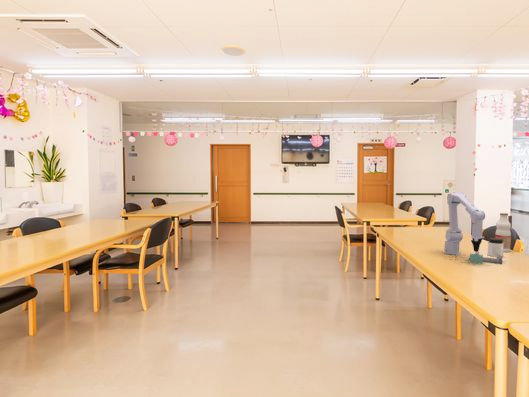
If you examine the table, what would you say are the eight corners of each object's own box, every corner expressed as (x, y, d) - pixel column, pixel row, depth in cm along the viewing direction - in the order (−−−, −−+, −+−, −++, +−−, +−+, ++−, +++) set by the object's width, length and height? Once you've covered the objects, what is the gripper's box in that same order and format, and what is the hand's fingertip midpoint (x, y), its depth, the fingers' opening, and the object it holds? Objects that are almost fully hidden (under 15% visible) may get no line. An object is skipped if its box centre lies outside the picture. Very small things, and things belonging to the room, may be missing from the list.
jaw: (474, 258, 228) (474, 253, 228) (475, 256, 235) (475, 251, 235) (478, 259, 227) (478, 253, 227) (478, 256, 234) (479, 251, 233)
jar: (498, 257, 235) (499, 240, 234) (486, 255, 242) (486, 238, 241) (504, 256, 240) (505, 239, 239) (491, 253, 247) (492, 237, 246)
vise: (469, 260, 229) (469, 253, 229) (470, 257, 237) (470, 250, 237) (502, 264, 219) (502, 257, 219) (502, 260, 227) (502, 254, 227)
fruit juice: (507, 252, 249) (509, 214, 247) (492, 250, 256) (494, 213, 254) (511, 250, 255) (513, 213, 253) (497, 248, 262) (498, 212, 260)
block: (469, 262, 225) (469, 254, 224) (470, 260, 228) (470, 253, 228) (482, 264, 221) (482, 256, 220) (482, 262, 224) (482, 254, 224)
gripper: (483, 231, 215) (483, 253, 216) (485, 228, 227) (484, 249, 228) (470, 230, 219) (470, 251, 220) (472, 227, 231) (471, 247, 232)
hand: (476, 250), depth 224 cm, fingers open, 7 cm apart
